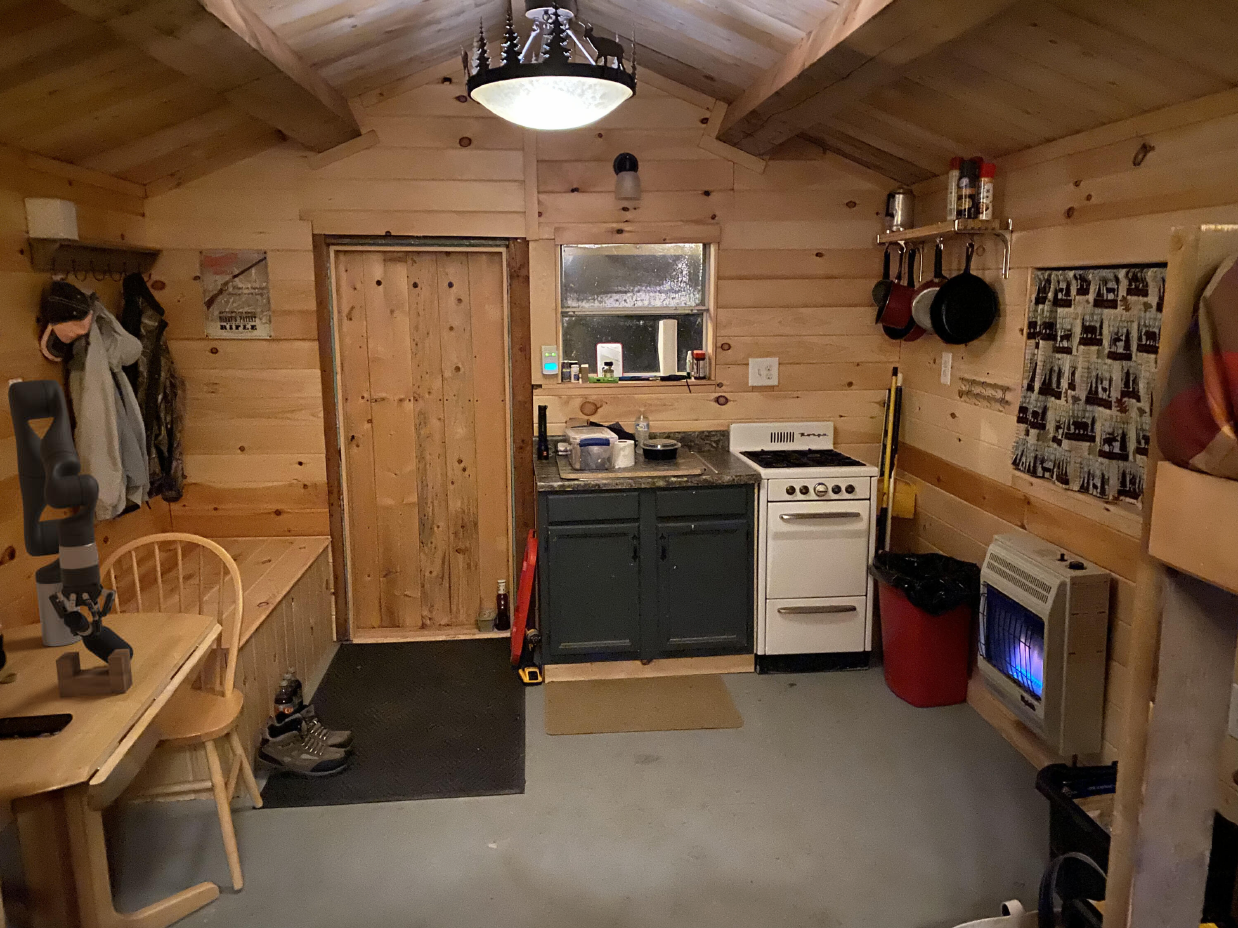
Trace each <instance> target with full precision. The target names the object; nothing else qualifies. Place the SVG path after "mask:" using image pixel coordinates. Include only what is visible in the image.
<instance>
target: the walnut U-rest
mask: <svg viewBox="0 0 1238 928" xmlns="http://www.w3.org/2000/svg"><path fill="white" fill-rule="evenodd" d="M131 663H132V662H131V661H130V652H129V649H116V650H115V651H114V652H113V653H112V654H111V655H110V656H109V657H108V664H107V667H104V668H103V667H102V668H100V667H99V668H84V669H83V668H82V669H81V660H80V651H65V652H64V653H63V654H61V655H60V656H59V657H58V658H57V659H55V666H56V675H57V684H58V693H59V698H72V697H73V698H74V697H85V696H102V695H103V696H105V695H119V694H126V692H128V691H129V689H131V687H132V686H133V684H134V683H133V674H132V673H133V672H132V664H131Z"/></svg>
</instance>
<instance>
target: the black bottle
mask: <svg viewBox="0 0 1238 928" xmlns="http://www.w3.org/2000/svg"><path fill="white" fill-rule="evenodd" d="M64 624H65V625H66V626H67V627H68V628H70V629H71V630H73V631H77V633H78V634H79V635H80V636H81V637H82V639H81V640H82V643H83V645H84V647H85V648H86V650H88V651H89V652H91V654H93V655H94V656H96V657H97V658H99V659H100V660H101V661H103V662H104V663H105V664H107V665H108V657H109V656H110V655H111V654H112V653H113V652H114V651H115V650H116V649H129V652H130V662H131V661H132V659H133V657H134V650H133V647H132V645H130V643H128V642H127V641H125V640H124V639H123V638H122V637H121V636H119V634H117V633H116V632H115V631H114V630H113V629H111V628H110V627H108V626H106V625H103V624H102V626H103V629H102V631H101V632H100V633H99V634H98V635H94V634H93V625H92V621H90V620H88V617H87V616H86V615H84V614H83V613H82V612H81V611H80V612H79V611H71V612H69V613H68V614H66V616H65V617H64Z"/></svg>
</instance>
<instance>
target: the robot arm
mask: <svg viewBox="0 0 1238 928" xmlns="http://www.w3.org/2000/svg"><path fill="white" fill-rule="evenodd" d="M63 390H64V389H63V388H62V386H61V384H60V382H58V380H55V379H38V380H37V379H36V380H23V381H16V382H12V383H11V384H10V385H9V387H8V394H7V395H8V396H7V397H8V398H7V399H8V405H9V409H10V416H11V420H12V426H13V427H12V428H13V431H14V437H15V446H16V458H17V460H16V462H17V473H18V482H19V487H20V488H19V489H20V495H21V500H22V511H23V512H22V513H23V514H22V515H23V518H22V519H23V540H24V547H25V550H26V553H27V554H28V555H29V556H31V557H44V556H45V557H46V556H51V555H52V556H53V555H54V556H55V555H58V558H56V559H54V560H53V561H52V562H50V563H48V564H46V565H44V566H42V567H39V568H38V569H37V570H36V571H35V574H34V577H35V587H36V594H37V603H38V611H39V620H40V627H41V638H42V644H43V646H47V647H59V646H60V647H61V646H66V645H71V644H74V643H77V642H80V640H82V637H81V636H80V635H79V634H78V633H77V631H73V630H71V629H70V628H68V627H67V626H66V625H65V624H64V617H65V616H66V614H68V613H69V612H71V611H79V612H81V607H83V606H84V607H87V610H88V611H89V612H90V614H91V617H92V620H91V622H92V625H93V634H94V635H98V634H99V633H100V632H101V631H102V629H103V626H104V625H103V619H102V618H105V617H107V616H108V615H109V614H110V613H111V611H112V609H113V605H114V601H115V599H116V594H117V590H116V589H111V590H109V589H106V588H104V586H103V585H102V583H101V571H100V563H99V562H100V555H99V552H98V547H97V544H96V535H95V525H94V523H95V513H96V509H97V508H96V507H97V504H98V499H99V495H100V484H99V482H98V480H97V479H96V478H95V477H94V476H93V475H91V474H80V473H81V470H82V464H81V461H80V458H79V454H78V453H77V449H76V447H75V444H74V441H73V436H72V429H71V428H72V427H71V424H70V423H71V421H70V415H69V411H68V406H67V402H66V397H65V393H64V391H63ZM51 418H53V419H52V421H51V423H50V426H49V427H48V429H47V431H46V432H44V435H43V437H42V438H41V437H40V436H39V435H38V434H37V433H36V431H34V429H33V428H32V426H31V425H30V422H29V421H31V420H42V419H51ZM47 506H48V507H50V508H52V509H55V510H62V509H71V508H77V507H80V509H79V510H78V511H77V512H76V513H75V514H72V515H70V516H69V515H68V516H67V517H64V518H55V519H47V520H46V519H45V520H40V519H41V517H42V513H43V512H44V510H45V508H46V507H47ZM101 595H102V599H103V600H104V603H103V605H102V609H101V607H100V606H101V603H100V600H99V598H100V597H101ZM102 625H103V626H102Z"/></svg>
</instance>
